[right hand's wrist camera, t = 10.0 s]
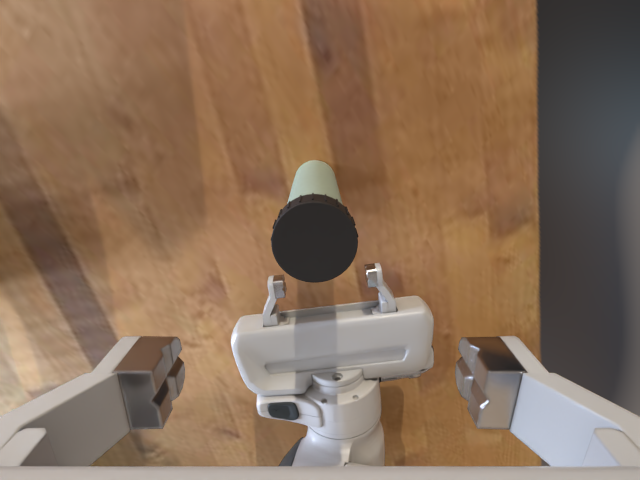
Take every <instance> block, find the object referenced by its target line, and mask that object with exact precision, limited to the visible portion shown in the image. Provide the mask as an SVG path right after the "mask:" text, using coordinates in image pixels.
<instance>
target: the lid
mask: <svg viewBox="0 0 640 480" xmlns="http://www.w3.org/2000/svg"><path fill="white" fill-rule="evenodd" d="M273 229H274V230H273V234H272V237H271V243H272V251H273V254H274V257H275V259H276V261H277V263H278V264H279V266H280V267H281V268H282V269H283V270H284V271H285V272H286V273H288V274H289V275H291V276H292V277H294V278H296V279H299V280H301V281H305V282H324V281H328V280H331V279H333V278H335V277H337V276H339V275H340V274H342V273H343V272H344V271H345V270H346V269H347V268H348V267H349V266H350V264H351V263H352V261H353V259H354V257H355V255H356V252H357V246H358V239H357V237H358V234H357V231H356V228H355V222H354V219H353V217H351V215H350V213H349V212H348V209H347V207H344V206H343V205H342V204H341V203H340V202H339V201H338V199H334V198H332V197H329V196H327V195H326V194H325V195H322V194H314V193H312V194H307V195H303V196H301V195H300V196H299V197H298V198H295V199H294V200H292V201H289V202H288V204H287V205H286V206H285V207H284V208H283V209H281V210H280V212H279V216H278V218H277V220H275V222H274V225H273Z"/></svg>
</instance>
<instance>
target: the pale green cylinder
mask: <svg viewBox="0 0 640 480" xmlns="http://www.w3.org/2000/svg"><path fill="white" fill-rule="evenodd" d="M312 193H314V194H322V195H325V194H326V195H327V196H329V197H332V198H334V199H338V201H339V202H340V203H341V204H342V200H341V197H340V193H339V189H338V185H337V181H336V178H335V174H334V172H333V170H332V168H331V167H330V166H329V165H328V164H326V163H325V162H322V161H318V160H312V161H308V162H306V163H304V164H302V165H301V166H300V167H299V169H298V170H297V172H296V175H295V178H294V182H293V185H292V189H291V192H290V196H289V200H288V202H289V201H292V200H294V199H295V198H298V197H299V196H300V195H301V196H303V195H307V194H312ZM287 204H288V203H287ZM342 205H343V204H342Z"/></svg>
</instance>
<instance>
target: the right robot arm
mask: <svg viewBox="0 0 640 480" xmlns="http://www.w3.org/2000/svg"><path fill="white" fill-rule="evenodd" d="M181 350H182V348H181V343H180V339H179V338H178V337H161V336H143V337H142V336H125V337H122V338H121V339H120V340H119V341H118V342H117V344H116V345H115V346H114V347H113V348H112V349H111V350H110V352H109V353H108V354H107V355H106V356H105V357H104V359H103V360H102V361H101V362H100V363H99V364H98V365H97V367H96V368H95V369H94V370H93V371H92V372H91V373H84V374H82V375H80V376H78V377H77V378H75V379H73V380H71V381H69V382H67V383H65V384H63V385H61V386H59V387H57V388H55V389H53V390H51V391H49V392H47V393H45V394H43V395H41V396H39V397H37V398H35V399H34V400H32V401H30V402H28V403H26V404H24V405H22V406H20V407H18V408H16V409H14V410H12V411H10V412H8V413H6V414H4V415H2V416H0V480H640V417H639V416H638V415H636V414H634V413H632V412H630V411H628V410H626V409H624V408H622V407H620V406H618V405H616V404H614V403H612V402H610V401H608V400H606V399H604V398H602V397H600V396H599V395H597V394H595V393H593V392H591V391H589V390H587V389H585V388H583V387H581V386H579V385H577V384H575V383H573V382H571V381H569V380H567V379H565V378H563V377H561V376H560V375H558V374H556V373H549V372H548V371H547V370H546V369H545V368H544V367H543V365H542V364H541V363H540V362H539V361H538V360H537V359H536V357H535V356H534V355H533V354H532V353H531V352H530V350H529V349H528V348H527V347H526V346H525V345H524V344H523V342H522V341H521V340H520V339H519V338H518V337H516V336H497V337H462V338H461V340H460V342H459V348H458V350H459V352H460V353H461V355H462V357H461V358H460V359H459V360H458V361H457V362H456V369H455V377H456V384H457V387H458V390H459V392H460V394H461V396H462V397H463V398H464V399H466V400H467V401H469V403H468V411H469V413H470V415H471V417H472V419H473V421H474V423H475V425H476V427H477V429H509V430H510V432H511V433H513V434H514V435H515V436H516V437H517V438H518V439H520V440H521V441H522V442H523V443H524V444H525V445H527V446H528V447H529V448H530V449H531V450H532V451H534V452H535V453H536V454H537V455H538V456H540V457H541V458H542V459H543V460H544V461H545V462H547V463H548V464H549V465H550V466H90V465H91V464H92V463H94V462H95V461H96V460H97V459H98V458H99V457H101V456H102V455H103V454H104V453H105V452H106V451H108V450H109V449H110V448H111V447H112V446H114V445H115V444H116V443H117V442H118V441H119V440H121V439H122V438H123V437H124V436H125V435H126V434H128V433H129V432H130V430H131V429H163V427H164V425H165V423H166V421H167V419H168V417H169V415H170V413H171V411H172V403H171V401H173V400H174V399H176V398H177V397H178V396H179V394H180V392H181V390H182V388H183V383H184V378H185V368H184V362H183V361H182V360H181V359H180V358H179V357H178V355H179V353H180V352H181Z"/></svg>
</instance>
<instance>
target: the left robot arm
mask: <svg viewBox="0 0 640 480" xmlns="http://www.w3.org/2000/svg"><path fill="white" fill-rule="evenodd" d="M364 266H365V272H366V273H365V277H366V282H367V285H368V287H377V288H378V290H379V291H380V292H379V293H378V298H379V300H374V301H365V302H356V303H348V304H339V305H331V306H322V307H314V308H305V309H297V310H288V311H279V306H278V304H275V302H276V300H277V298H283V297H285V295H286V293H285V292H286V283H285V282H284V281H285V277H284V275H275V276H269V278H268V289H269V294H270V295H269V297H268V299H267V302H266V304H265V307H264V311H263V313H262V314H254V315H245V316H242V317H241V318H240V319H239V321H238V322H237V324H236V325H235V327H234V330H233V333H232V337H231V346H232V350H233V354H234V357H235V360H236V363H237V366H238V369H239V371H240V374H241V376H242V378H243V381H244V382H245V384H246V386H247V387H248V388H249V389H250V390H251V391H252V392H254V393H256V394H257V410H258V413H259V414H260V415H261V416H263V417H266V418H272V419H279V420H286V421H291V422H296V423H300V424H303V425H306V426H308V431H307V435H306V437H305V438H303V437H302V438H301V439H300V440H298V441H297V442H296V444H295V445H294V446H293V447H292V448H291V449H290V451H289V452H288V453H287V454H286V456H285V457H284V458H283V460H282V461H281V463H280V465H279V466H385V441H384V431H383V427H382V424H381V422H380V417H381V411H382V405H381V393H380V382H382V381H392V380H398V379H402V378H417V377H420V376H421V373H424V372H426V371H428V370H429V369H430V368H432V367H433V364H434V349H433V346H432V339H433V328H434V319H433V315H432V313H431V310H430V308H429V307H428V305H427V304H426V303H425V302H424V301H423V300H422V299H421V298H420V297H419V296H408V297H399V298H394V295H393V293H392V290H391V289H390V288H389V287H388V285H387V284H386V283H385V282H384V280H383V277H382V269H381V266H380V263H375V264H367V265H364Z"/></svg>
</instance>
